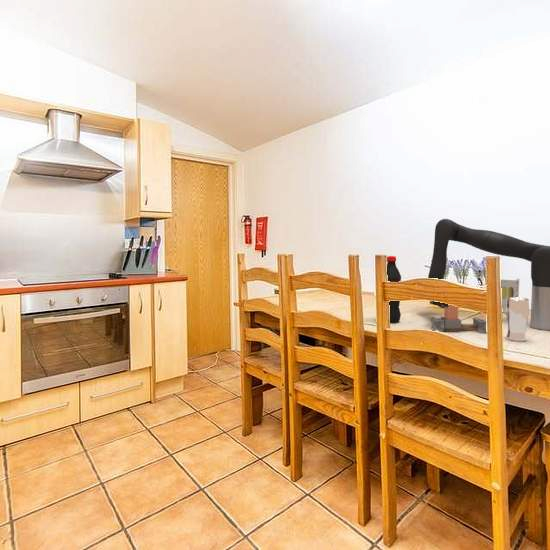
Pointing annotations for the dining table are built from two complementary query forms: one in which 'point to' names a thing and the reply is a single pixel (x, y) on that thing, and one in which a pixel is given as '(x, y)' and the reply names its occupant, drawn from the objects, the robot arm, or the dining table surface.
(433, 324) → the rail
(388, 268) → the cola bottle
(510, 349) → the dining table surface
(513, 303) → the beer glass
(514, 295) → the supplement box
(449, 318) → the tall salmon pink pillar
